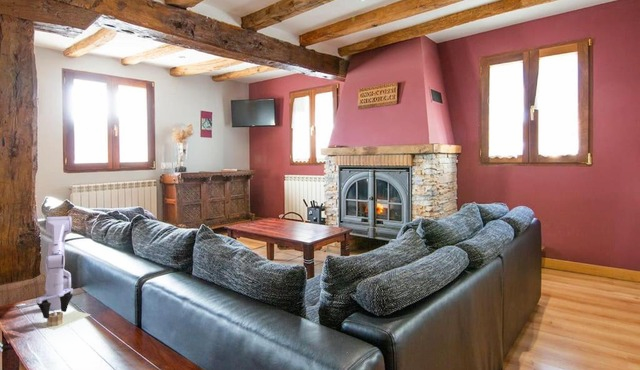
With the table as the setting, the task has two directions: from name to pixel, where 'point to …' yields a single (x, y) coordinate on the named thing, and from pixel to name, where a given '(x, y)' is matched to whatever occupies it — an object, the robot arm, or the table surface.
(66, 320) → the board
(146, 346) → the table surface
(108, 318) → the table surface
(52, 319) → the bead
